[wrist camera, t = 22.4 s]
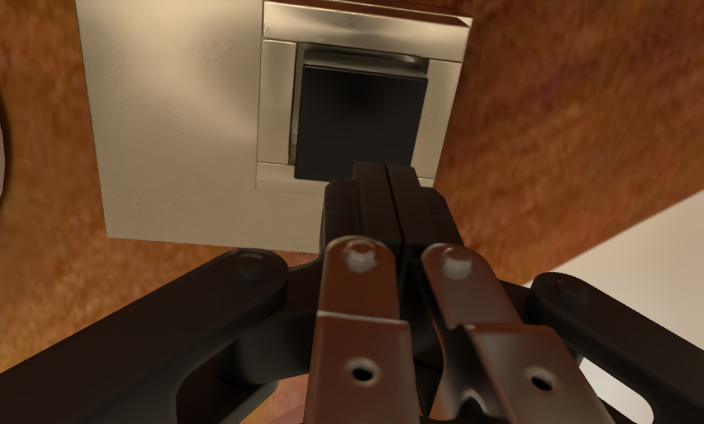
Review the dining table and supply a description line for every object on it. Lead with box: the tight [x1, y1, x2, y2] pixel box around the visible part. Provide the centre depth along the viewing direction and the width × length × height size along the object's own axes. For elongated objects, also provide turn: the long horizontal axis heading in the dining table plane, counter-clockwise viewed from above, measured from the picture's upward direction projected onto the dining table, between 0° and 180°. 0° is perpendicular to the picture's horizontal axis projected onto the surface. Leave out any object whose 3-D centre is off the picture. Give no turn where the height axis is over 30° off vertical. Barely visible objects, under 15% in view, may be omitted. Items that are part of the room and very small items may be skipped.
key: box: [294, 50, 429, 182], centre depth 17 cm, size 4×4×2 cm
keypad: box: [75, 0, 473, 253], centre depth 20 cm, size 14×11×4 cm
